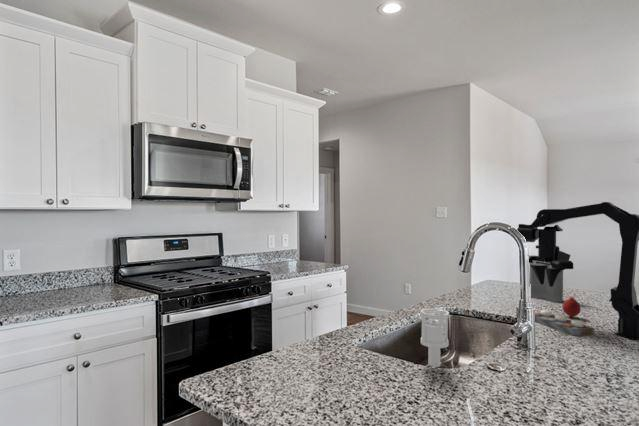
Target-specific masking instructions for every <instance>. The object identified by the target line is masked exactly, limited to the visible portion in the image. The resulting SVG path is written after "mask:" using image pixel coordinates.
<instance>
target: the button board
mask: <svg viewBox="0 0 639 426" xmlns="http://www.w3.org/2000/svg"><path fill="white" fill-rule="evenodd" d="M534 313H535V321H534V322H535V323H538V324H540V325H543V326H546V327H549V328H551V329H554V330H557V331H559V332H562V333H565V334H567V335H571V336H575V337H576V336H588V335H595V328H594V327H592V326H588V325H586V324H584V327H582V328H576V327H573V325H572V324H571V320H572V319H571V320H570V319H568V318H567V322H559V321H556V319H555V315H556V314H552V317H544V316H541V312H534Z"/></svg>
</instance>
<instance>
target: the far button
mask: <svg viewBox="0 0 639 426" xmlns="http://www.w3.org/2000/svg"><path fill="white" fill-rule="evenodd" d="M552 312H553V311H551V310H548V309H541V310H540V313H541V316H544V317H552V315H553V313H552Z"/></svg>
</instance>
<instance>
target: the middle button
mask: <svg viewBox="0 0 639 426" xmlns="http://www.w3.org/2000/svg"><path fill="white" fill-rule="evenodd" d="M554 315H555V319H556V321H559V322H567V319H568V315H565V314H564V315H563V314H554Z"/></svg>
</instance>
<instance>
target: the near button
mask: <svg viewBox="0 0 639 426" xmlns="http://www.w3.org/2000/svg"><path fill="white" fill-rule="evenodd" d="M571 324H572V325H573V327H576V328H582V327H584V325H585V322H584V321H583V320H579V319H571Z"/></svg>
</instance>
